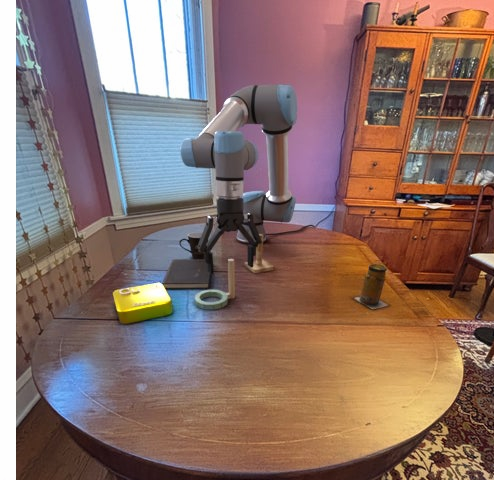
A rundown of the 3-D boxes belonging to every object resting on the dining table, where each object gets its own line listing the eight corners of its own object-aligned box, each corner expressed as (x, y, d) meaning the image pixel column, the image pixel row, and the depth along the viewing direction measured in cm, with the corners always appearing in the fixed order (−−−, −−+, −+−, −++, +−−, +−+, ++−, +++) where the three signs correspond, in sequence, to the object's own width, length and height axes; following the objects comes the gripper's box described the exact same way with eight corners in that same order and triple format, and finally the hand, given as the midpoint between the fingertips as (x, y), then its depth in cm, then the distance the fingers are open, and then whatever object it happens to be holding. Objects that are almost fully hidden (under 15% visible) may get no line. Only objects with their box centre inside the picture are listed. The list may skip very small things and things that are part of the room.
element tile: (120, 325, 82) (116, 310, 80) (115, 302, 93) (111, 288, 91) (174, 314, 88) (172, 299, 86) (163, 293, 99) (161, 280, 97)
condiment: (369, 294, 103) (378, 261, 96) (388, 305, 96) (398, 271, 90) (353, 298, 100) (360, 264, 94) (371, 310, 93) (381, 274, 87)
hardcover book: (211, 264, 123) (211, 259, 122) (208, 288, 103) (208, 282, 102) (172, 264, 122) (171, 259, 120) (162, 289, 102) (161, 283, 101)
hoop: (201, 312, 89) (198, 272, 83) (190, 298, 97) (186, 260, 90) (241, 303, 95) (241, 264, 88) (228, 290, 103) (227, 254, 96)
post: (263, 262, 126) (264, 230, 119) (274, 269, 120) (276, 236, 113) (244, 265, 123) (244, 233, 116) (254, 273, 116) (255, 239, 109)
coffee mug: (211, 254, 133) (210, 232, 128) (207, 261, 125) (205, 238, 120) (186, 253, 134) (184, 231, 128) (180, 260, 126) (177, 236, 121)
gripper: (190, 201, 74) (196, 280, 85) (275, 196, 84) (271, 267, 95) (181, 197, 80) (188, 271, 91) (262, 192, 90) (260, 259, 101)
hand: (231, 269), depth 93 cm, fingers open, 13 cm apart
